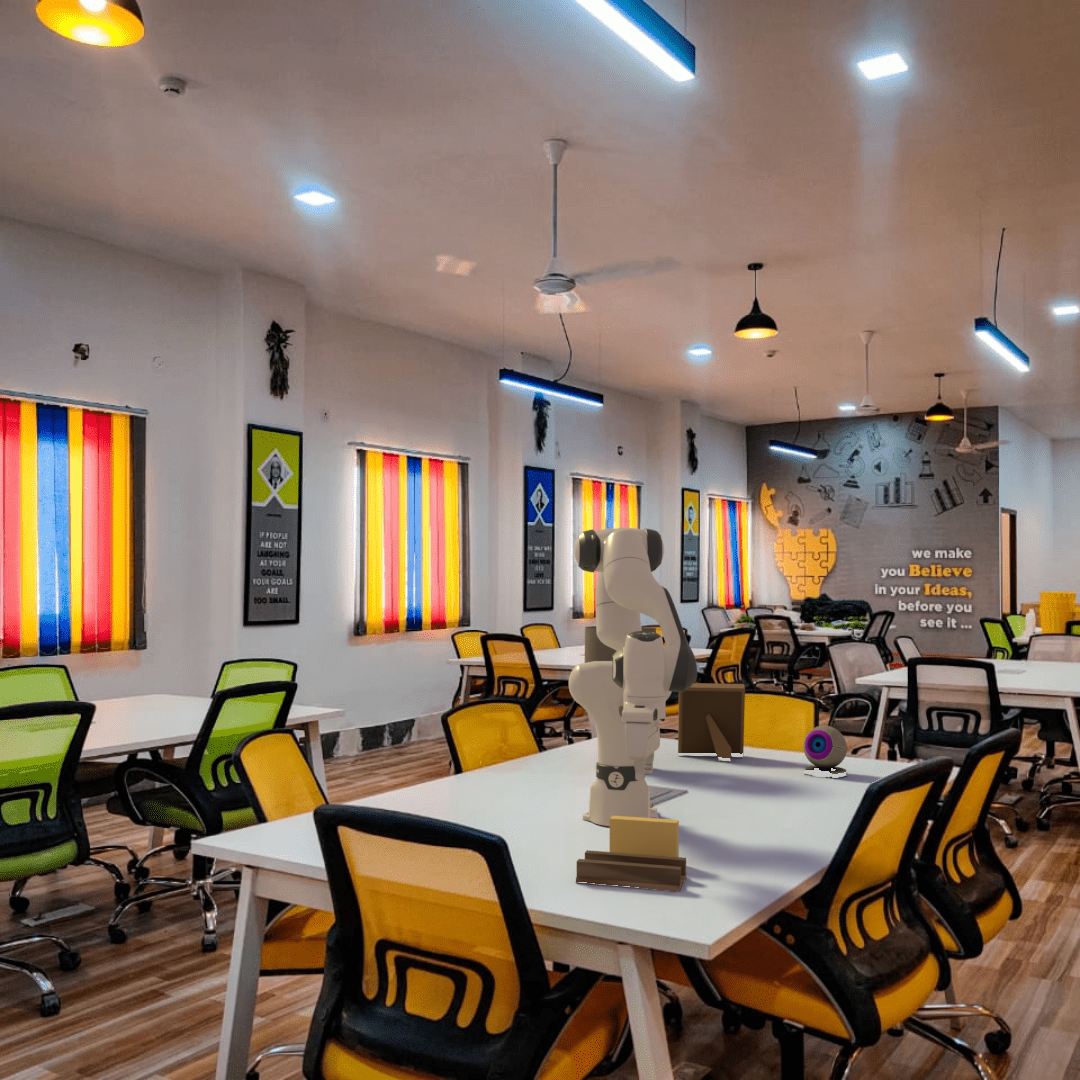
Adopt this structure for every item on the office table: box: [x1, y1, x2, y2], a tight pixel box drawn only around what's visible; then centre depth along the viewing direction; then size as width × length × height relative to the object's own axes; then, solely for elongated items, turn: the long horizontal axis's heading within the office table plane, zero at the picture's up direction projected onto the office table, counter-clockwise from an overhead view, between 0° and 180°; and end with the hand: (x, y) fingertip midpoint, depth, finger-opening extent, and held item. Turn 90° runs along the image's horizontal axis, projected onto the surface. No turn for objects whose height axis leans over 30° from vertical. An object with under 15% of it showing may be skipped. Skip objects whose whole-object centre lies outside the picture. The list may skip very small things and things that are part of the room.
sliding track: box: [575, 849, 687, 892], centre depth 204 cm, size 10×20×4 cm, turn 75°
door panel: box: [609, 816, 680, 857], centre depth 217 cm, size 3×14×9 cm, turn 75°
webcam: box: [803, 725, 848, 774], centre depth 323 cm, size 13×13×15 cm
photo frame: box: [677, 682, 746, 759], centre depth 352 cm, size 15×22×25 cm
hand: (644, 776), depth 218 cm, fingers open, 8 cm apart
